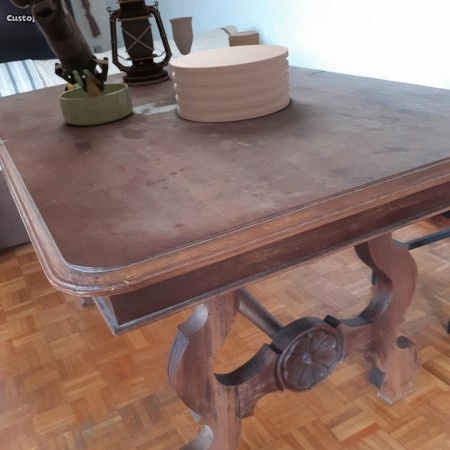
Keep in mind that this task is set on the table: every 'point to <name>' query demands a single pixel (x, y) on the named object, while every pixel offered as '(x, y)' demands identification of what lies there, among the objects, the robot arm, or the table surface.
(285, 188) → the table surface
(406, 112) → the table surface
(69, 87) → the edible corn
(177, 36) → the chalice
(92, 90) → the pestle
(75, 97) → the bowl
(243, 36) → the coffee cup
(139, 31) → the lantern
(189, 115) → the plate stack
